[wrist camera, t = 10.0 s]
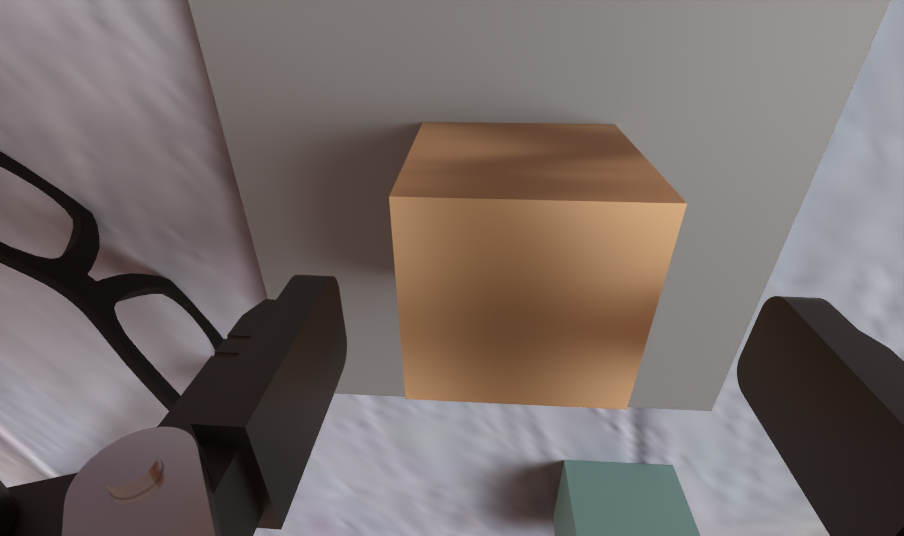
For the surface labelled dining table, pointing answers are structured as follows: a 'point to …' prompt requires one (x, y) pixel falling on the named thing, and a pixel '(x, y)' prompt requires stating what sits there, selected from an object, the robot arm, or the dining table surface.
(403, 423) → the dining table surface
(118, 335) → the black eyeglasses
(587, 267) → the oak block
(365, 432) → the dining table surface
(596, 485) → the teal block
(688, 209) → the base board
